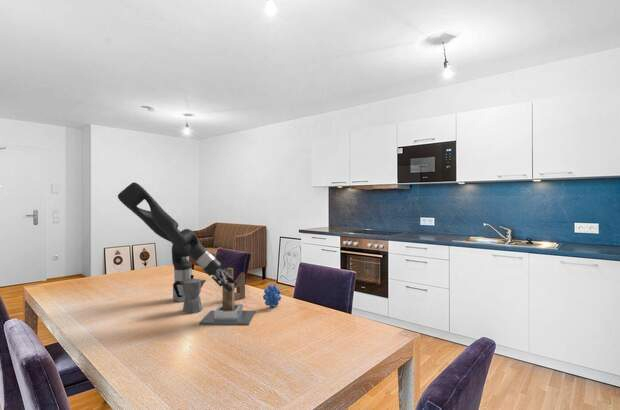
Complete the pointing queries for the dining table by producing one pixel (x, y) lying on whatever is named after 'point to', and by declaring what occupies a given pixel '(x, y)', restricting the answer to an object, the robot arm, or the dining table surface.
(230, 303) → the walnut post
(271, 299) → the grapes
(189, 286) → the coffeepot
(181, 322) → the dining table surface
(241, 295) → the brown wooden pegged bracket
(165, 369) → the dining table surface
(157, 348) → the dining table surface
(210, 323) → the keeper cradle
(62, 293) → the dining table surface
